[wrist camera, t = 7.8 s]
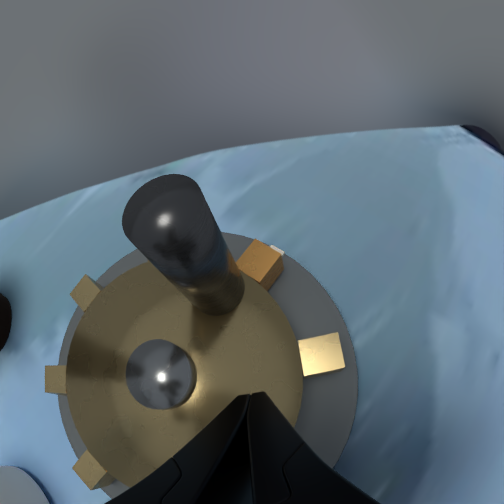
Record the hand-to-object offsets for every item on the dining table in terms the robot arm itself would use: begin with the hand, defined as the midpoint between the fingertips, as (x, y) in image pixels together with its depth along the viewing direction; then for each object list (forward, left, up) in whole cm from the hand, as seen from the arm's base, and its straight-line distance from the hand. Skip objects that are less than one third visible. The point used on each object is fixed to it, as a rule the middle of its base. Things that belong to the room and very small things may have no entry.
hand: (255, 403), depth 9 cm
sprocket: (+5, +2, -8) cm, 10 cm away
